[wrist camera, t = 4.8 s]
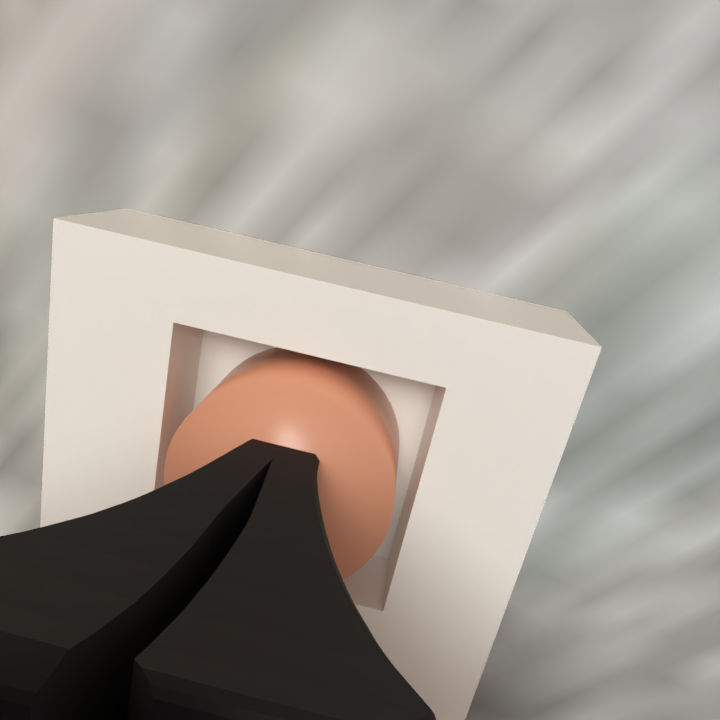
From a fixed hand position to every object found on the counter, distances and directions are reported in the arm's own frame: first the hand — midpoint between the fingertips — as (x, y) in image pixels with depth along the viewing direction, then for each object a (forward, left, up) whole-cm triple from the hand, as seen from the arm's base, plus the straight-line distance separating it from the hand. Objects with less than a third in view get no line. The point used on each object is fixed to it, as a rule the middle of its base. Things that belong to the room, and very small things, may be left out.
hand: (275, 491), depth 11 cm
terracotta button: (0, 0, -2) cm, 2 cm away
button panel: (0, +8, -3) cm, 9 cm away
